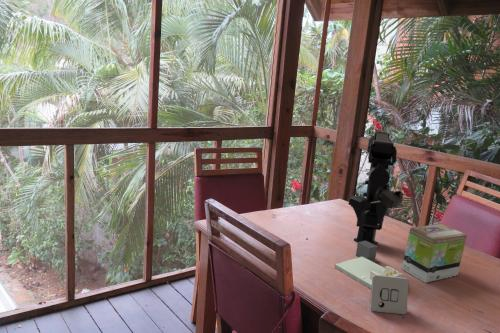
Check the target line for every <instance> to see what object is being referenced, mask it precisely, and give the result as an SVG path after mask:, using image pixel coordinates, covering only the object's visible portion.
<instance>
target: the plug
mask: <svg viewBox="0 0 500 333" xmlns="http://www.w3.org/2000/svg"><path fill="white" fill-rule="evenodd" d="M377 250H378V245H377V244H372V243H370V242H368V241H362V242H357V245H356V252H355V256H356V258H358V257H364V258H366V259H368V260H370V261H372V262H373V261H375V260H376V257H377V256H376V255H377Z"/></svg>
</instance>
